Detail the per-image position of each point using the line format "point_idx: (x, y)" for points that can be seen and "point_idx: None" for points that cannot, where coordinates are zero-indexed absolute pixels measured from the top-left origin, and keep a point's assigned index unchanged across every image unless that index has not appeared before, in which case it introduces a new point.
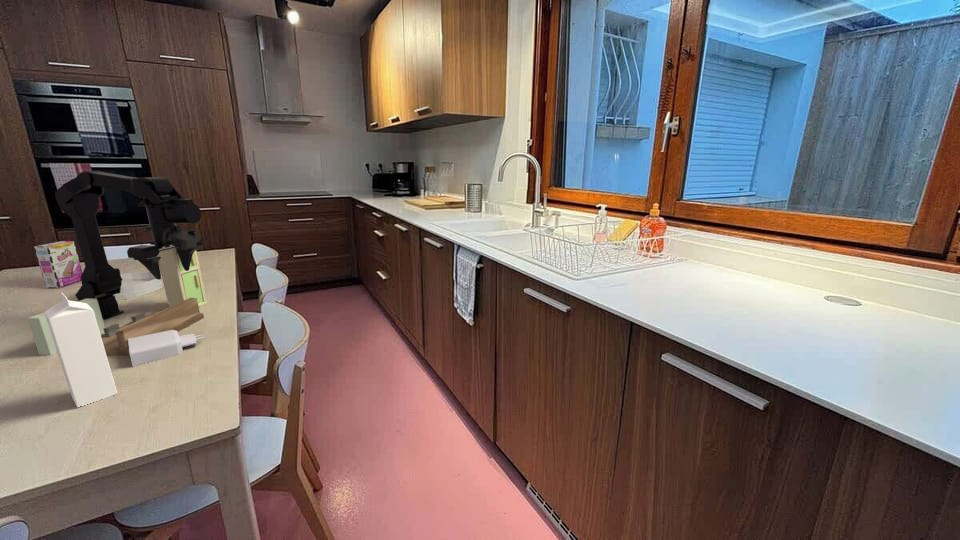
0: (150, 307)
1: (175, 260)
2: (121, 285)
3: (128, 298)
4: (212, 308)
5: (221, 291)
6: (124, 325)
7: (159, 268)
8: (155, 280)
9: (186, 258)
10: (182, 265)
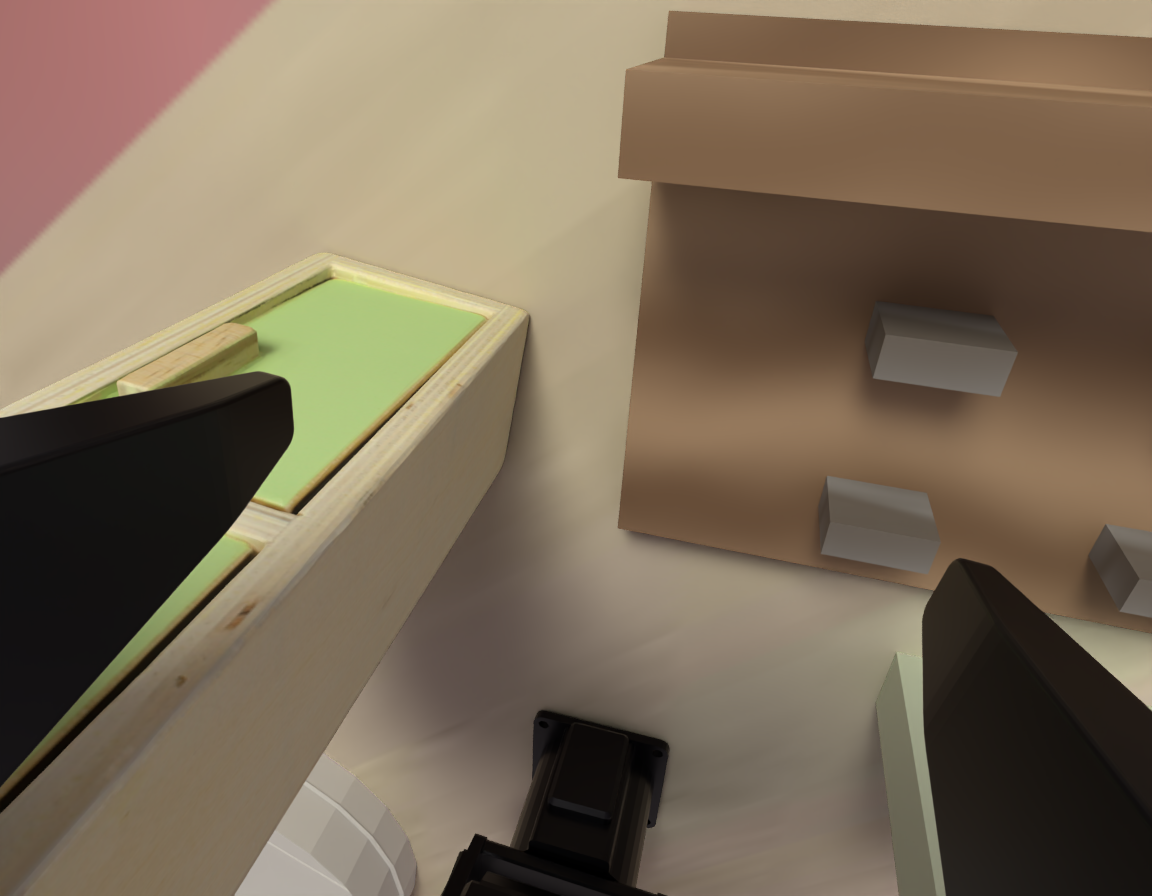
0: (448, 617)
1: (147, 732)
2: None
3: (343, 774)
4: (411, 115)
5: (54, 318)
6: (914, 576)
7: (1114, 768)
8: None
9: (16, 533)
10: (226, 531)
